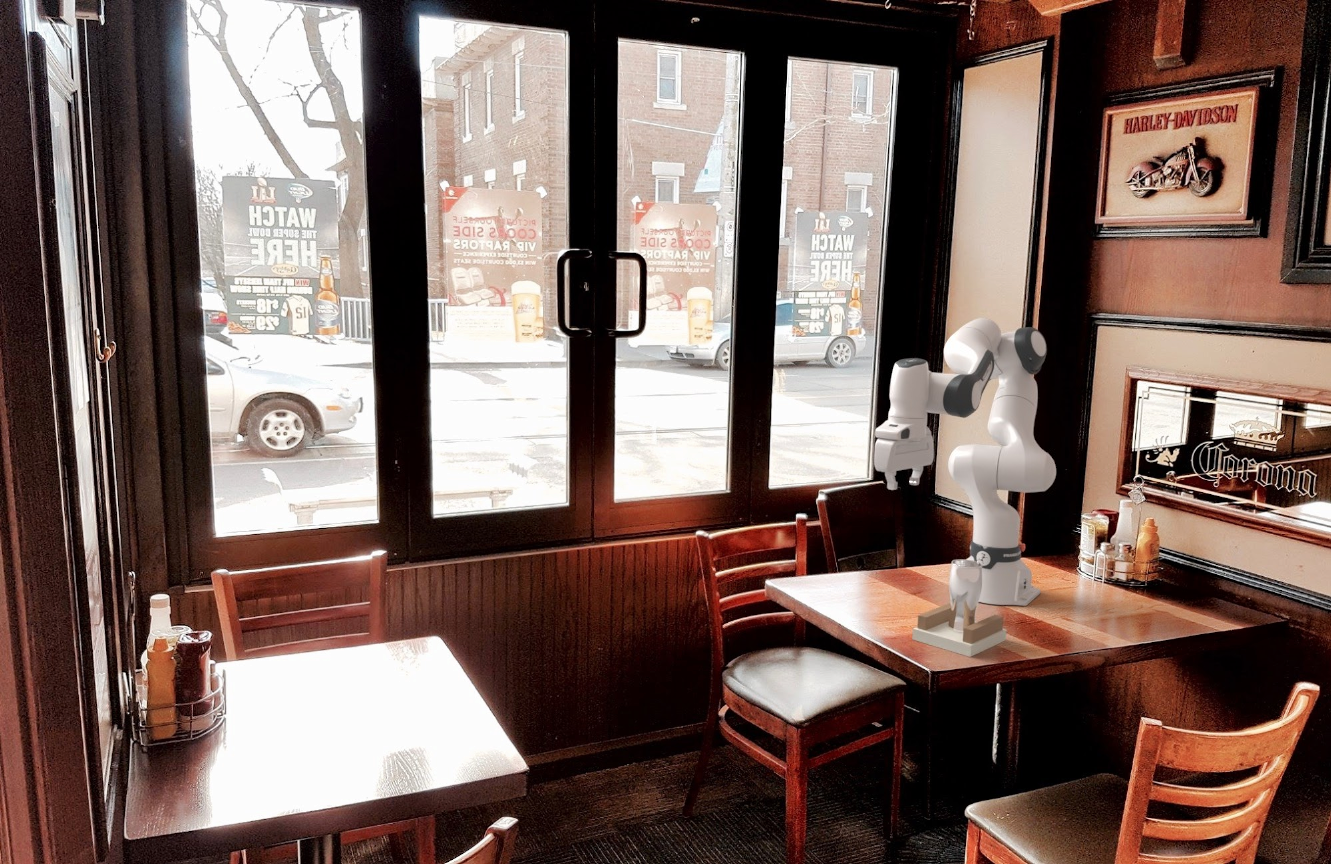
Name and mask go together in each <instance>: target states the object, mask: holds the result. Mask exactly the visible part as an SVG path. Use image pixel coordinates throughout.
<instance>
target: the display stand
mask: <svg viewBox="0 0 1331 864" xmlns="http://www.w3.org/2000/svg"><path fill="white" fill-rule="evenodd" d="M950 616H951V602H949V603H946V604H944V605H941V606H938V607H936V608H934V609H930V610H929V611H925V612H923V613H921V614H918V615H917V626H916V627H914V628H912V636H911V637H912V638H911V639H912V641H915V642H920V643H922V644H925V645H930V646H933V647H936V648H938V649H943V650H945V651H949V652H953V653H955V654H959V655H962V656H966V657H969V658H971V657H974V656H975V655H977V654H979V653H982V652H984V651H986V650H988V649H990V648H992V647H994V646H996V645H1000V644H1001V643H1003V642H1006V641H1007V631H1008V629H1006V628H1003V627H1004V616H1002V615H998V614H993V615H990V616H989V617H986V618H984V619H980V620H979V621H977V620H976V623H974V624H972V625H969V626H967V627H965V628H964V629H963V633H960V632H955V631H952V630H950V629H949V628H948V624H949V620H950Z"/></svg>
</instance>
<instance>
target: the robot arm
mask: <svg viewBox="0 0 1331 864" xmlns="http://www.w3.org/2000/svg"><path fill="white" fill-rule="evenodd" d="M1047 353H1048V347H1047V343H1046V339H1045V337H1044V335H1043V334H1042V333H1041V332H1040V331H1039V330H1038V329H1037V328H1035V327H1030V326H1028V327H1026V326H1025V327H1019V328H1018V329H1015V330H1011V331H1006V332H1003V333H1002V332H1001V328H1000V326H999V325H998V324H997V323H996V322H995V321H993V320H992V319H990V318H986V317H978V318H975V319H973V320H970V321H969V322H967V323H965V324H963V325H962V326H961V327H960V328H958V329H957V330H956V331H955V332H954V333H953V334H951V336H950V337H949V338H948V340H947V341H946V343H945V344H944V348H943V357H944V361H945V362H946V364H947V366H948V367H949V369H950V370H951V371H952V372H953V373H943V372H932V371H931V370H929V362H928V361H927V360H925V359H923V358H918V357H914V358H913V357H910V358H903V359H899V360H898V361H896V362H895V363H894V365H893V369H892V373H891V378H890V384H889V400H890V408H889V411H888V416H887V417H888V418H887V420H885V421H884V422H883V423H882V424H881V425H879V426H878V427H876V428H875V432H874V436H875V438H877V439H876V442H875V444H874V459H873V460H874V461H873V465H874V468H875V470H876V471H877V472H881V473H884V476H885V480H886V482H887V484H886V485H887V486H886V488H887V489H888V490H891V491H894V490H898V481H896V477H895V476H896V475H897V471H902V470H908V469H909V470H910V469H912V474H911V476H910V477H909V485H911V486H919V484H920V478H921V476H922V474H923V471H924V467H926V466H930V465H932V463H933V461H934V455H935V453H934V452H935V450H934V438H933V435H932V431H931V430H930V428H929V426H927V425H928V413H929V414H930V413H931V414H939V415H945V416H946V415H947V416H953V417H958V418H963V419H964V418H968V417H969V416H971V415H973V414H974V413H975V412H976V411H977V410H978V409H979V407H980V403H981V400H982V396H983V394H984V392H985V389H986V387H987V386H988V383H989V382H991V380H996V379H998V387H997V389H996V391H995V394H994V398H993V401H992V405H991V409H990V413H989V417H988V422H987V432H988V434H989V436H990V437H991V438H992V440H994V441H995V443H997V444H998V445H990V444H981V443H971V444H969V443H968V444H963V445H958V446H957V447H955V448H954V449H953V450H952V451H951V454H950V455H949V457H948V462H947V468H948V472H949V475H950V477H951V478H952V480H953V481H954V482H955V483H956V484H958V485H959V487H961V488H962V490H963V491H964V492H965V494H966V496H967V498H968V499H969V501H970V504H971V505H970V506H971V508H972V509H971V510H972V515H973V517H972V518H973V524H972V525H973V527H972V530H973V532H972V540H971V541H970V545H969V554H970V556H969V557H968V558H966V559H965V560H972V561H977V562H979V563H981V564H982V589H981V594H980V598H979V602H978V603H983V604H989V605H997V606H998V605H1001V606H1005V605H1006V606H1023V607H1026V606H1028V605H1029V604H1030V603H1031V602H1032V601H1033V600H1034V599H1036V598H1037V597H1038V596H1039V595H1040V594H1041V589H1040V588H1038V587H1036V586H1034V585H1032V579H1033V578H1032V577H1033V576H1032V570H1031V569H1030V568H1029V567H1028V566H1027V565H1026V564H1025V562H1024V561H1023V560H1022V554H1021V553H1022V552H1024V551H1025V550H1026V544H1025V543H1020V542H1019V539H1020V530H1021V529H1020V526H1021V516H1020V514H1019V512H1018V511H1017V509H1015V508H1014V507H1013V506H1011V505H1010V504H1008V503H1006V502H1005V501H1003V500H1002V499H1001V498H1000V496H999V494H998V490H999V491H1007V492H1018V493H1025V494H1026V493H1039V492H1046V491H1047V490H1048V489H1049V488H1050V487H1051V486H1052V485H1053V483H1054V482H1055V479H1056V476H1057V468H1056V467H1057V466H1056V464H1055V460H1054V459H1053V458H1052V456H1051V455H1050V454H1049V452H1046V451H1045V450H1044V449H1042V448H1041V447H1040V445H1039V444H1038V443H1037V441H1036V440H1035V436H1034V427H1035V419H1036V415H1037V409H1038V399H1039V397H1038V395H1039V394H1038V384H1037V381H1036V380H1035V378H1034V377H1033V375H1037V374H1038V373H1040V371H1041V369H1042V365H1043V364H1044V362H1045V359H1046V356H1047Z"/></svg>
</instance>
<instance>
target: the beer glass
mask: <svg viewBox="0 0 1331 864" xmlns="http://www.w3.org/2000/svg"><path fill="white" fill-rule="evenodd" d="M950 564H951V565H950V570H949V577H948V579H949V580H948V581H949V582H948V589H949V591H948V592H949V598H950V603H951V616H950V620H949V624H948V628H949V629H950V630H952V631H955V632H960V633H963V629H964V628H965V627H967V626H969V625H972V624H974V623H976V621H977V620H976V619H977V618H976V617H977V616H976V615H977V610H978V605H979V603H980V602H979V598H980V594H981V589H982V564H981V563H979V562H977V561H972V560H966V559H965V558H964V559H962V558H961V559H953V560H952V561H951V563H950Z"/></svg>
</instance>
